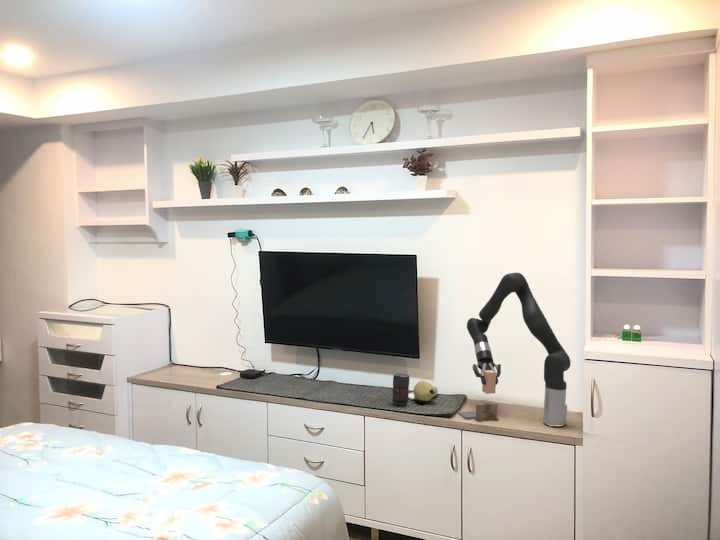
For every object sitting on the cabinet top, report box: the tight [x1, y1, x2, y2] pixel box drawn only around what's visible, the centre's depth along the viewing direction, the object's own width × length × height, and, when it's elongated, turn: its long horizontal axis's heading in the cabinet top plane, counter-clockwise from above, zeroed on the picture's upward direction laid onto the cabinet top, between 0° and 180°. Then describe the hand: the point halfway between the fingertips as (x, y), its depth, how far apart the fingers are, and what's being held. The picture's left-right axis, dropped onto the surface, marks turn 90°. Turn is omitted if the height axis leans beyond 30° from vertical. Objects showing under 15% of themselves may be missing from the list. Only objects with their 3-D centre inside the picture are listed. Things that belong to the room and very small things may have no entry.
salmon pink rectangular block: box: [481, 370, 497, 395], centre depth 281 cm, size 4×4×10 cm
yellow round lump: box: [413, 380, 439, 402], centre depth 298 cm, size 10×12×11 cm
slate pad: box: [457, 410, 476, 420], centre depth 279 cm, size 8×8×1 cm
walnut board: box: [474, 402, 499, 423], centre depth 274 cm, size 10×4×8 cm, turn 106°
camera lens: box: [391, 372, 410, 408], centre depth 292 cm, size 8×8×15 cm
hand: (490, 384), depth 279 cm, fingers closed on salmon pink rectangular block, 5 cm apart
